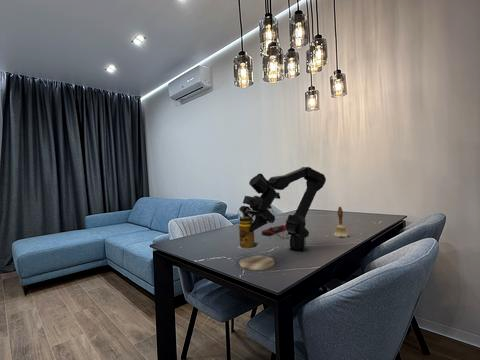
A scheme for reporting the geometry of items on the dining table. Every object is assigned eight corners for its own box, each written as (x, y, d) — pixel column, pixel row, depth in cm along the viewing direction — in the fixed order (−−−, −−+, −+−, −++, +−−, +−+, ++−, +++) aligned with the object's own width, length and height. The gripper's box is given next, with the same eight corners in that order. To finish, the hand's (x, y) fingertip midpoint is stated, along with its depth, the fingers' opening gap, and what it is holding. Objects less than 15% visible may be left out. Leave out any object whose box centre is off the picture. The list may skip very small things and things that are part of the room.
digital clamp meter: (255, 228, 153) (280, 221, 171) (255, 236, 153) (280, 228, 171) (290, 234, 137) (313, 225, 155) (290, 243, 137) (314, 233, 155)
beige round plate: (279, 260, 110) (279, 257, 110) (266, 272, 98) (266, 269, 98) (248, 256, 117) (248, 254, 117) (233, 267, 105) (233, 264, 104)
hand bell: (337, 238, 139) (336, 208, 139) (330, 235, 148) (329, 206, 147) (352, 237, 140) (351, 207, 140) (344, 233, 149) (343, 205, 148)
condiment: (236, 248, 107) (235, 218, 107) (242, 242, 115) (241, 215, 115) (254, 249, 105) (252, 219, 104) (259, 243, 113) (257, 215, 112)
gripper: (241, 187, 119) (221, 215, 113) (267, 189, 103) (245, 222, 97) (257, 203, 123) (238, 230, 118) (284, 207, 107) (263, 239, 102)
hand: (245, 230), depth 109 cm, fingers closed on condiment, 6 cm apart
